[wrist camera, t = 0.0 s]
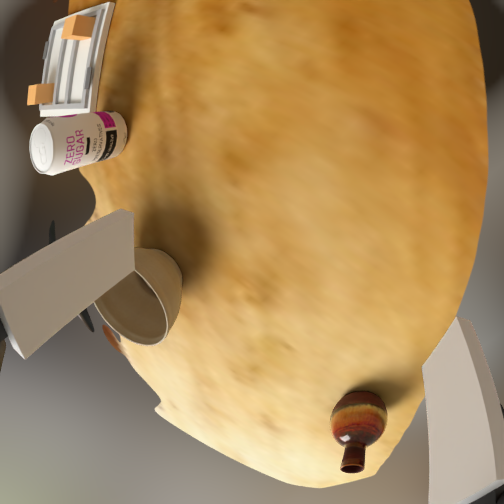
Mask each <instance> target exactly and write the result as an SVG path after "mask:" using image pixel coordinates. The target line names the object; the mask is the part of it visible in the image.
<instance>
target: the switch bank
mask: <svg viewBox="0 0 504 504" xmlns="http://www.w3.org/2000/svg"><path fill="white" fill-rule="evenodd" d="M114 7H115V3H112V2H107V3H104V4H101V5H97V6H94V7H91V8H88V9H86V10H83V11H80V12H77V13H75V14H72V15H69V16H67V17H65V18H62V19H60V20H57V21H55V22H54V26H53V27H52V28H51V33H50V37H49V41H48V42H46V44H45V49H44V54H43V59H45V64H44V70H43V78H42V84H48V83H55V85H54V94H53V102H49V103H41V104H40V108H39V110H41V112H40V116H65V115H72V114H81V113H91V112H96V103H97V94H98V86H99V79H100V72H101V66H102V60H103V55H104V49H105V44H106V40H107V35H108V30H109V26H110V22H111V18H112V14H113V10H114ZM74 15H83V16H88V17H93V18H96V20H95V24H94V29H93V33H92V38H89V39H85V40H81V41H80V40H70V39H61V36H62V31H63V27H64V23H65V19H66V18H69V17H71V16H74Z"/></svg>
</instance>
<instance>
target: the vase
mask: <svg viewBox="0 0 504 504" xmlns="http://www.w3.org/2000/svg"><path fill="white" fill-rule="evenodd" d="M386 425H387V410H386V407H385V404H384V402H383V401H382V399H381V398H380V397H378V396H377V395H375V394H373V393H371V392H366V391H358V392H353V393H350V394H348V395H346V396H344V397H343V398H342V399H341V400H340V401H339V402H338V403H337V404H336V406H335V407H334V409H333V412H332V414H331V418H330V431H331V434H332V436H333V438H334V439H335V440H336V442H337V443H339V444H340V445H341V446H343V447H345V452H344V456H343V460H342V463H341V467H340V470H341V471H343V472H345V473H358V472H361V471H363V470H364V466H365V450H366V447H368V446H370V445H372V444H373V443H375V442H376V441H377V440H378V439H379V438H380V437H381V436H382V434H383V433H384V431H385V428H386Z"/></svg>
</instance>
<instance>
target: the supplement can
mask: <svg viewBox="0 0 504 504" xmlns="http://www.w3.org/2000/svg"><path fill="white" fill-rule="evenodd" d="M126 140H127V127H126V124H125V121H124V119H123V117H122V116H121V115H120V114H119V113H117V112H115V111H102V112H91V113H81V114H72V115H65V116H58V117H51V118H46V119H45V120H44V121H43V122H42V123H40V124H38V125H37V126H36V127H35V128H34V130H33V131H32V134H31V138H30V147H29V149H30V157H31V160H32V164H33V166H34V168H35V169H36V170H37V171H38V172H39V173H43V174H48V175H55V174H58V173H61V172H65V171H68V170H71V169H74V168H78V167H81V166H85V165H88V164H92V163H95V162H99V161H103V160H106V159H110V158H113V157H116V156H118V155H119V154H120V153H121V152H122V150H123V148H124V146H125V144H126Z"/></svg>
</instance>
